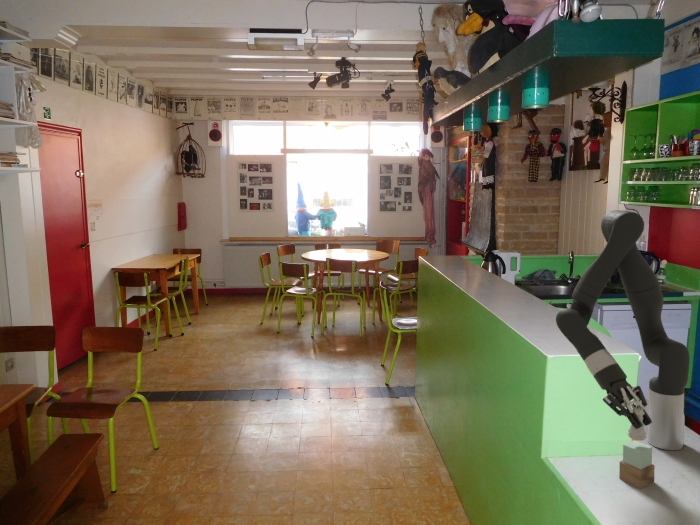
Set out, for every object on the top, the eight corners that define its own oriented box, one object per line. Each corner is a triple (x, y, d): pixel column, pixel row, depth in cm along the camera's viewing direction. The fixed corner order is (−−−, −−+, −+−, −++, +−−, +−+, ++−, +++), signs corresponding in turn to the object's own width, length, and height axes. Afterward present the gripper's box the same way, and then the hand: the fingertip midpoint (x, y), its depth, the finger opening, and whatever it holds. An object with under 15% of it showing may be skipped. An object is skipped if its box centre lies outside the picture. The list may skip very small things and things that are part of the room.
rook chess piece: (648, 441, 138) (650, 412, 137) (630, 440, 139) (631, 411, 138) (642, 434, 143) (644, 405, 142) (625, 432, 143) (626, 405, 142)
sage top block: (633, 456, 145) (634, 439, 144) (651, 464, 141) (652, 446, 140) (622, 461, 143) (623, 444, 142) (640, 469, 138) (641, 451, 138)
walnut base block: (633, 472, 146) (633, 455, 146) (654, 482, 141) (654, 465, 140) (619, 478, 144) (619, 461, 143) (640, 488, 138) (640, 471, 138)
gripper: (596, 367, 142) (637, 426, 133) (629, 358, 148) (671, 414, 139) (579, 380, 147) (617, 437, 138) (612, 371, 154) (651, 425, 144)
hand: (644, 425), depth 139 cm, fingers closed on rook chess piece, 3 cm apart
